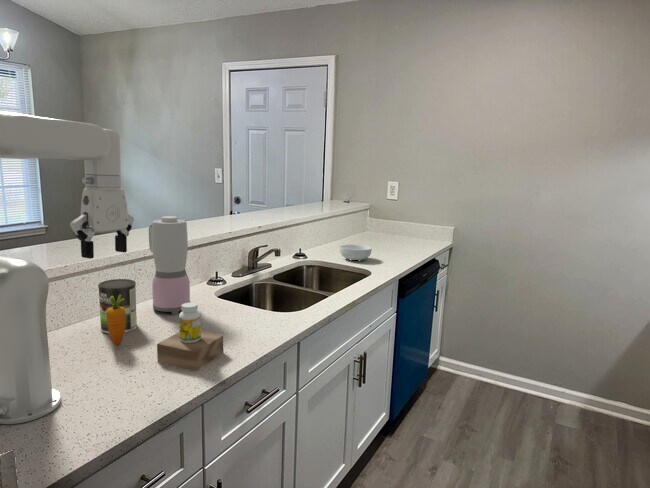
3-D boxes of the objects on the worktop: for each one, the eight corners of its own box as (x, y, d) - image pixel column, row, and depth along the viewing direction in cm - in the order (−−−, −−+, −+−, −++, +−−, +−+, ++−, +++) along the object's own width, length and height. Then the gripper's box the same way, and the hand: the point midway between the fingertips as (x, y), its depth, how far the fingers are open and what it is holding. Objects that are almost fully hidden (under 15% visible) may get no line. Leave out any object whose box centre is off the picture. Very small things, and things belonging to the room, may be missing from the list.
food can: (117, 336, 132) (114, 290, 129) (92, 329, 136) (90, 284, 133) (145, 325, 141) (143, 281, 138) (121, 319, 145) (119, 277, 142)
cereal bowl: (374, 258, 247) (375, 246, 246) (364, 264, 232) (365, 251, 231) (346, 255, 254) (346, 242, 253) (334, 260, 239) (335, 247, 238)
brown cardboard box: (196, 370, 113) (196, 352, 112) (157, 362, 117) (156, 343, 116) (223, 352, 124) (223, 335, 123) (186, 344, 128) (186, 328, 127)
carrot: (122, 341, 128) (119, 290, 125) (130, 346, 125) (128, 294, 122) (104, 346, 124) (101, 294, 122) (113, 352, 121) (110, 298, 119)
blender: (198, 307, 159) (196, 217, 153) (171, 317, 148) (168, 221, 142) (165, 299, 166) (163, 212, 160) (138, 308, 155) (134, 216, 149)
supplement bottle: (205, 339, 120) (204, 304, 118) (188, 345, 116) (187, 309, 114) (192, 334, 123) (191, 300, 121) (175, 340, 119) (174, 305, 117)
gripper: (82, 183, 97) (85, 262, 99) (143, 183, 112) (144, 251, 115) (57, 181, 99) (60, 258, 102) (120, 182, 115) (121, 248, 118)
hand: (105, 254), depth 109 cm, fingers open, 9 cm apart
